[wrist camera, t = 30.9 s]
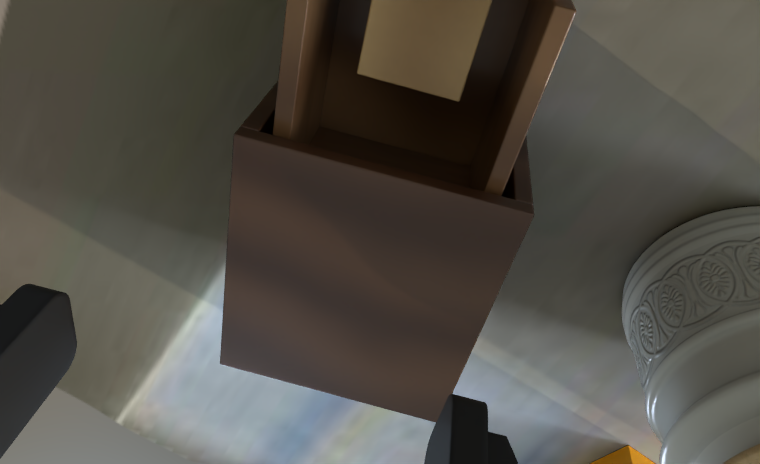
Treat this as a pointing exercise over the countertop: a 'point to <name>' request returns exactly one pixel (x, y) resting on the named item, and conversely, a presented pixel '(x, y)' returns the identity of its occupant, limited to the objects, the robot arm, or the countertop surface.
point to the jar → (700, 337)
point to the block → (423, 43)
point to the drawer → (418, 92)
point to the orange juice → (624, 457)
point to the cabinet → (360, 269)
